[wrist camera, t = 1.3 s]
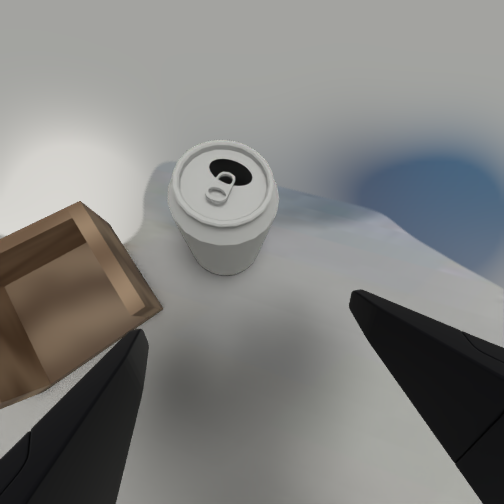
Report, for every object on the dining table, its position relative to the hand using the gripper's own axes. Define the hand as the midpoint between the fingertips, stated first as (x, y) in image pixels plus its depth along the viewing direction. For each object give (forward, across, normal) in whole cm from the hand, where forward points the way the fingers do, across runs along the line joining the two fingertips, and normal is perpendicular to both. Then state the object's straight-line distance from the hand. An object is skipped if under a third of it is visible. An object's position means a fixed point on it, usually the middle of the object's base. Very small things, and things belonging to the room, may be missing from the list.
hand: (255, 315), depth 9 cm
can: (+15, 0, +4) cm, 16 cm away
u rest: (+13, +15, +6) cm, 21 cm away
